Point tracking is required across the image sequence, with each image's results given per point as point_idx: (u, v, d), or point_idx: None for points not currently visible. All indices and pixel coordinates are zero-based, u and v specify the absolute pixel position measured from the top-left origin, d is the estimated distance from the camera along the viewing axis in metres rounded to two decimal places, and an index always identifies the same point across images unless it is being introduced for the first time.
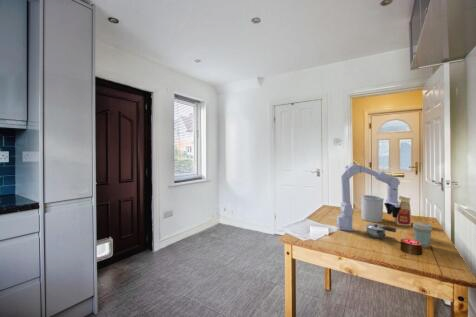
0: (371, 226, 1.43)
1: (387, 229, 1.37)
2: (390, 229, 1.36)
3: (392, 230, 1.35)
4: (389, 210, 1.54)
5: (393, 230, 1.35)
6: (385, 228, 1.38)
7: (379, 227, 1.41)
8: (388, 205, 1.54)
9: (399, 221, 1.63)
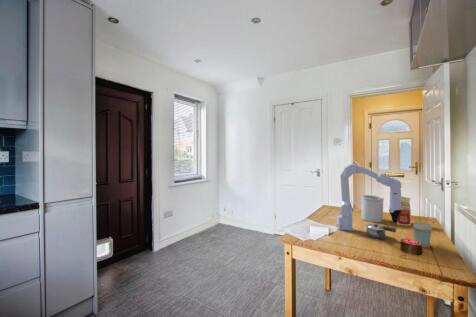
0: (371, 226, 1.43)
1: (387, 229, 1.37)
2: (390, 229, 1.36)
3: (392, 230, 1.35)
4: None
5: (393, 230, 1.35)
6: (385, 228, 1.38)
7: (379, 227, 1.41)
8: (393, 212, 1.41)
9: (399, 221, 1.63)
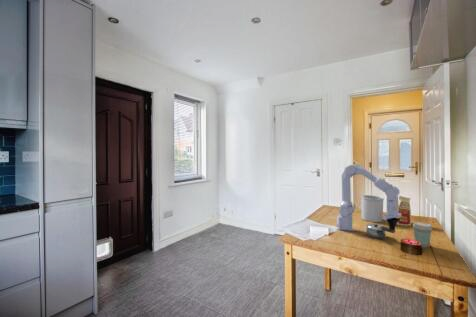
0: (371, 226, 1.43)
1: (385, 229, 1.37)
2: (388, 229, 1.35)
3: (390, 231, 1.34)
4: (391, 225, 1.36)
5: (391, 231, 1.34)
6: (384, 228, 1.37)
7: (378, 227, 1.41)
8: (390, 220, 1.37)
9: (399, 221, 1.63)
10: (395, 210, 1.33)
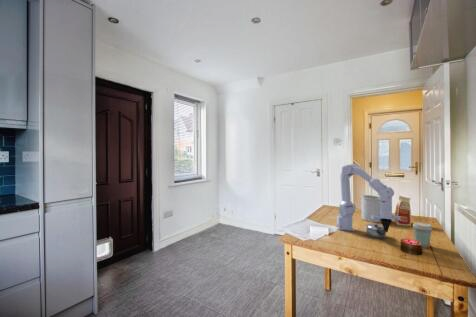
0: (370, 225, 1.45)
1: (378, 229, 1.37)
2: (379, 230, 1.35)
3: (380, 231, 1.34)
4: None
5: (380, 231, 1.34)
6: (377, 228, 1.38)
7: (376, 227, 1.41)
8: None
9: (399, 221, 1.63)
10: (385, 211, 1.31)
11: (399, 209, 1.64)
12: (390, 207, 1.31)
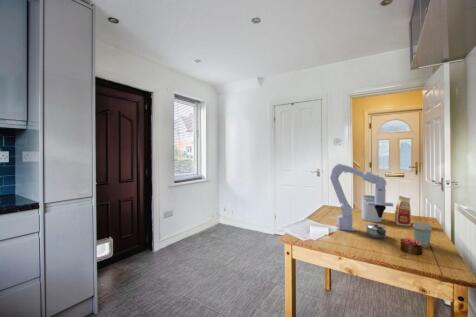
0: (370, 225, 1.45)
1: (378, 229, 1.37)
2: (379, 230, 1.35)
3: (380, 231, 1.34)
4: None
5: (380, 231, 1.34)
6: (377, 228, 1.38)
7: (376, 227, 1.41)
8: None
9: (399, 221, 1.63)
10: (379, 198, 1.44)
11: (399, 209, 1.64)
12: None
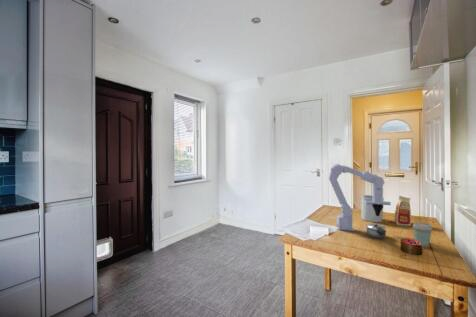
0: (370, 225, 1.45)
1: (378, 229, 1.37)
2: (379, 230, 1.35)
3: (380, 231, 1.34)
4: None
5: (380, 231, 1.34)
6: (377, 228, 1.38)
7: (376, 227, 1.41)
8: None
9: (399, 221, 1.63)
10: (377, 197, 1.47)
11: (399, 209, 1.64)
12: (382, 193, 1.48)
